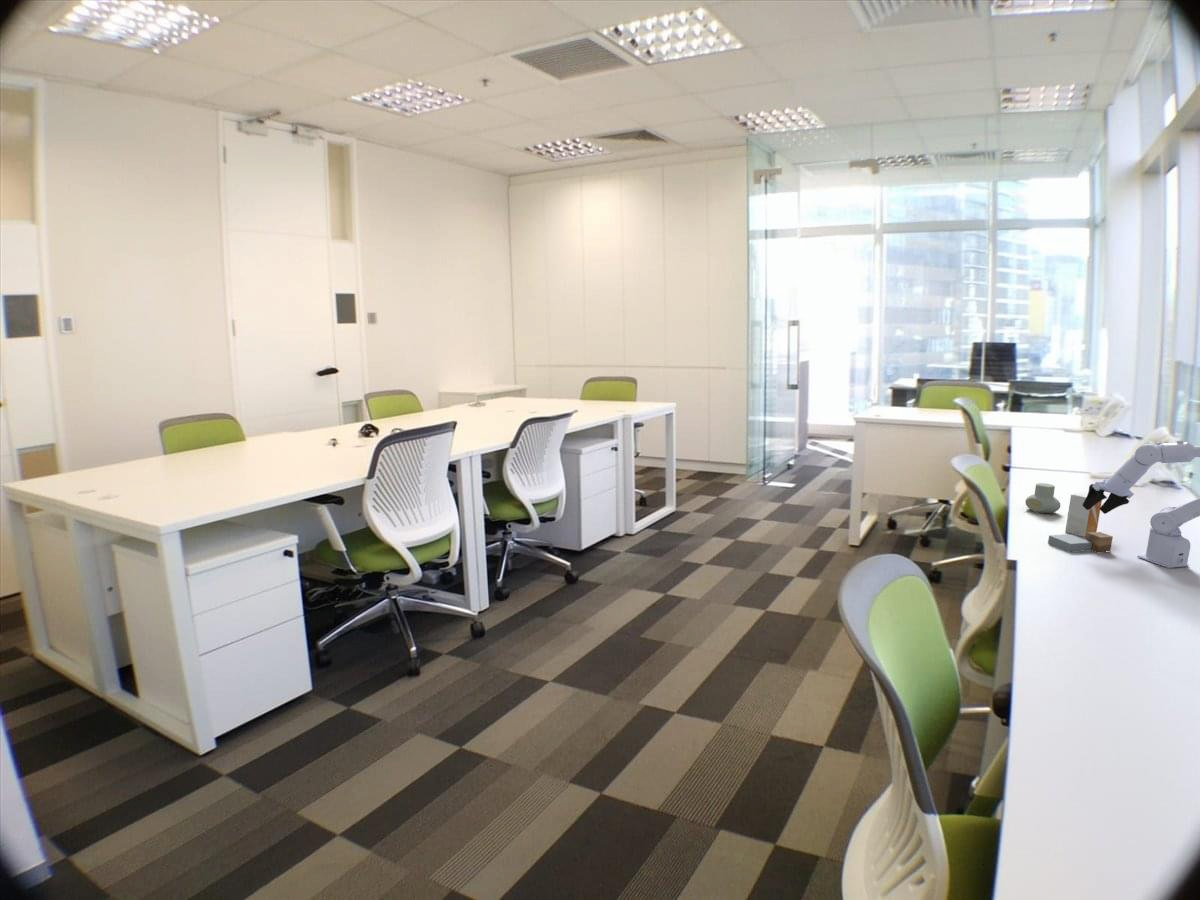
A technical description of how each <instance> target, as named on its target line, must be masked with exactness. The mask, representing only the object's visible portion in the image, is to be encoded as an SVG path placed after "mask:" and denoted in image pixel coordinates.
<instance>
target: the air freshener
mask: <svg viewBox="0 0 1200 900" xmlns="http://www.w3.org/2000/svg"><path fill="white" fill-rule="evenodd" d="M1054 495H1055V485H1053V484H1050V483H1045V482H1044V483H1043V482H1042V483H1041V482H1038V483H1036V484H1035V488H1034V494H1031V495H1029V496H1027V498H1025V506H1026V508H1028V509H1029V510H1031V511H1032V510H1033V511H1032V512H1034V511H1035V512H1034V513H1036V512H1039V513H1038V514H1053V513H1055V512H1057V511H1059V510H1060V508H1061V502H1060V501H1059V499H1057V498H1056V497H1055V496H1054Z"/></svg>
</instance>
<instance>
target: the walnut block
mask: <svg viewBox="0 0 1200 900" xmlns="http://www.w3.org/2000/svg"><path fill="white" fill-rule="evenodd" d="M1086 540H1087V541H1090V542H1092V547H1091V551H1092V550H1093V551H1092V552H1094V551H1096V552H1095V553H1097V552H1104V553H1107V552H1106V551H1110V552H1111V549H1112V543H1113V536H1112V535H1109V534H1107V533H1104V532H1101V531H1097V532H1092V533H1088V534H1087V537H1086Z"/></svg>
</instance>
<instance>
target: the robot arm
mask: <svg viewBox="0 0 1200 900" xmlns="http://www.w3.org/2000/svg"><path fill="white" fill-rule="evenodd" d="M1195 458H1200V445H1194V444H1192V443H1191V442H1190V441H1184V440H1183V439H1180V440H1179V439H1178V440H1176V442H1166V443H1164V442H1163V443H1162V441H1157V442H1156V444H1155V443H1146V444H1144V445H1140V446H1139V447H1138V448H1137V449H1136V450H1135V452H1134V454H1133V455H1131V456H1130V458H1129V459H1127V460H1126V461H1125V462H1124V463H1123V464H1121V466H1120V467H1119V468H1118V469H1117V471H1116V472H1114V474H1113V475H1111V476H1110V478H1109V479H1106V478H1104V479H1103V481H1095V483H1091V484H1089V486H1088V491H1087V493H1088V495H1087V497H1086V499H1085V501H1084V503H1083V505H1082V506H1083V507H1084V508H1085V509H1086V510H1089V509H1090V508H1092V507H1093V506H1094V505H1095V504H1096V503H1098V502H1099V501H1101V500H1102V501H1103V500H1105V499H1106V500H1105V501H1104V502H1103V504H1101V508H1100V512H1102V514H1105V515H1106V514H1107V513H1109V512H1111V511H1113V510H1115V509H1117V508H1118V507H1121V506H1124V505H1128V504H1129V503H1130V500H1129V499H1131V498H1132V497H1133V496H1134V494H1135V493H1134V492H1133V491H1132V490H1130V489H1131V488H1133V486H1134V485H1135V484H1136V483H1138V482H1139V480H1141V478H1142V477H1143V476H1144V475H1145V474H1146V473H1147V472H1148V470H1149V469H1150V468H1152V466H1153V465H1155V464H1156V463H1161V464H1174V463H1191V462H1192V461H1193V460H1194V459H1195ZM1105 492H1106V493H1109V495H1108V496H1106V495H1105ZM1199 517H1200V497H1197V498H1195V499H1193V500H1190V501H1188V502H1186V503H1183V504H1180V505H1178V506H1173V507H1172V506H1170V507H1169V506H1167V507H1164V508H1163V509H1161V510H1160V511H1158V512H1157V513H1154V514H1153V515H1152V516H1151V518H1150V521H1149V523H1150V528H1149V534H1148V541H1147V545H1146V552H1145V554H1140V555H1137V558H1139V559H1142V560H1145V561H1148V562H1151V563H1153V564H1156V565H1159V566H1161V567H1164V568H1167V569H1171V568H1182V567H1189V566H1190V564H1189V563H1188V562H1189V555H1190V551H1191V542H1190V540H1189V539H1188V538H1185V537H1184V536H1183V535H1182V531H1181V529H1180V528H1179V527H1181V526H1183V525H1184V524H1186V523H1188V522H1190V521H1192V520H1193V519H1195V518H1199Z"/></svg>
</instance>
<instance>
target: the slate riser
mask: <svg viewBox="0 0 1200 900" xmlns="http://www.w3.org/2000/svg"><path fill="white" fill-rule="evenodd" d="M1047 544H1049V545H1051V546H1053V547H1056V548H1057V549H1060V548H1061V549H1060V550H1063V549H1064V551H1065V550H1066V552H1068V551H1069V552H1068V553H1072V552H1071V551H1077V552H1083V551H1082V550H1091V547H1092V542H1090V541H1087V539H1084V538H1081V537H1080V536H1077V535H1074V534H1070V533H1068V534H1067V533H1066V534H1055V535H1054V534H1052V535H1050V534H1049V535H1048V540H1047ZM1091 551H1092V550H1091Z"/></svg>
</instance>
